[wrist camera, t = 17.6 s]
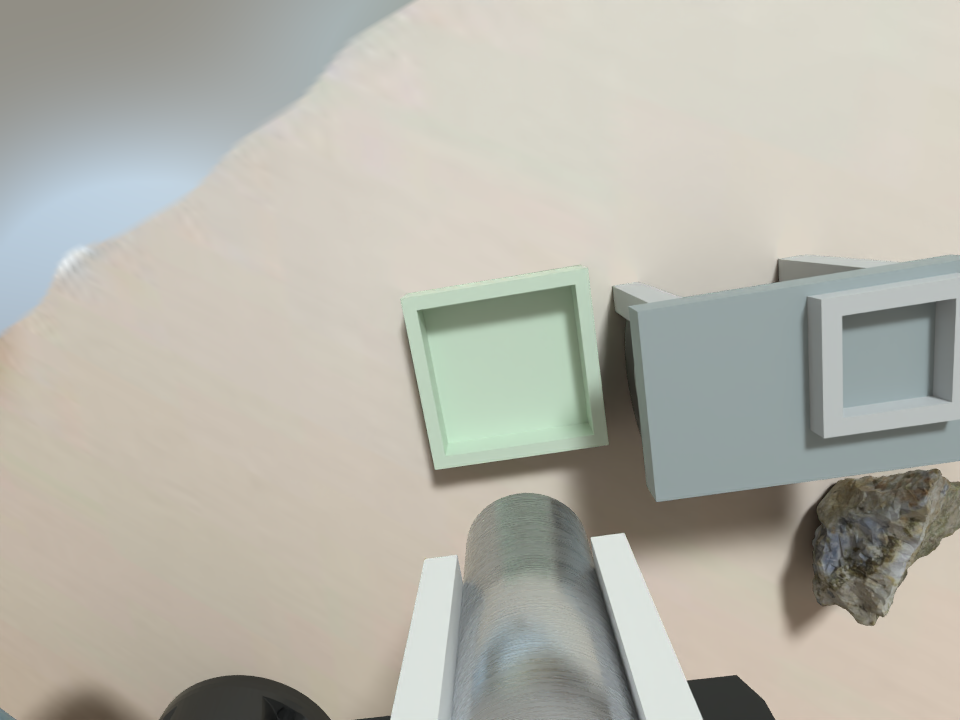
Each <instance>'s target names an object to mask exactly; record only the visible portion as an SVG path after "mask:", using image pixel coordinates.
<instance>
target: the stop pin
mask: <svg viewBox="0 0 960 720" xmlns="http://www.w3.org/2000/svg"><path fill="white" fill-rule="evenodd" d="M451 720H638V716H637V713H636V709H635V706H634V703H633V699H632V696H631V692H630V689H629V685H628V682H627V678H626V675H625V672H624V668H623V665H622V661H621V658H620V654H619V651H618V647H617V644H616V641H615V637H614V634H613V630H612V627H611V623H610V620H609V616H608V613H607V610H606V606H605V603H604V599H603V596H602V592H601V589H600V585H599V582H598V579H597V575H596V572H595V567H594V560H593V556H592V553H591V550H590V546H589V543H588V539H587V536H586V533H585V530H584V527H583V525H582V523H581V522H580V520H579V519H578V517H577V516H576V515H575V513H574V512H573V511H572V510H571V509H570V508H568V507H567V506H566V505H564V504H563V503H561V502H559V501H558V500H556V499H553V498H551V497H548V496H545V495H540V494H534V493H521V494H514V495H509V496H506V497H503V498H501V499H499V500H497V501H495V502H493V503H492V504H490V505H488V506H487V507H486V508H485V509H484V510H483V511H482V512H481V513H480V514H479V515H478V516H477V518H476V519H475V520H474V522H473V524H472V526H471V528H470V531H469V534H468V538H467V545H466V556H465V567H464V578H463V593H462V604H461V615H460V626H459V637H458V648H457V659H456V670H455V681H454V692H453V703H452V714H451Z"/></svg>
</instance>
